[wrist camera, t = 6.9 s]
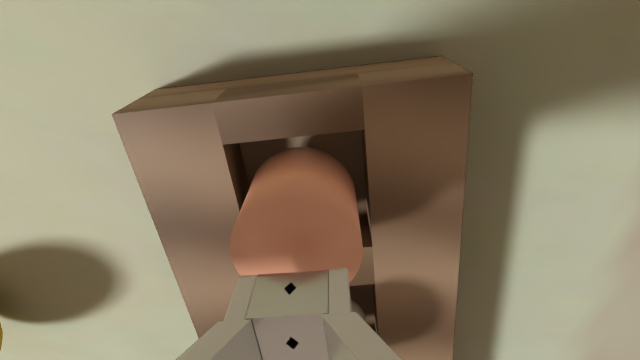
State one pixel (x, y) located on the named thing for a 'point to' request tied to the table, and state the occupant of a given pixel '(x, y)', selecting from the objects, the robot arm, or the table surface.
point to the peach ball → (298, 217)
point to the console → (344, 144)
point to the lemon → (0, 336)
